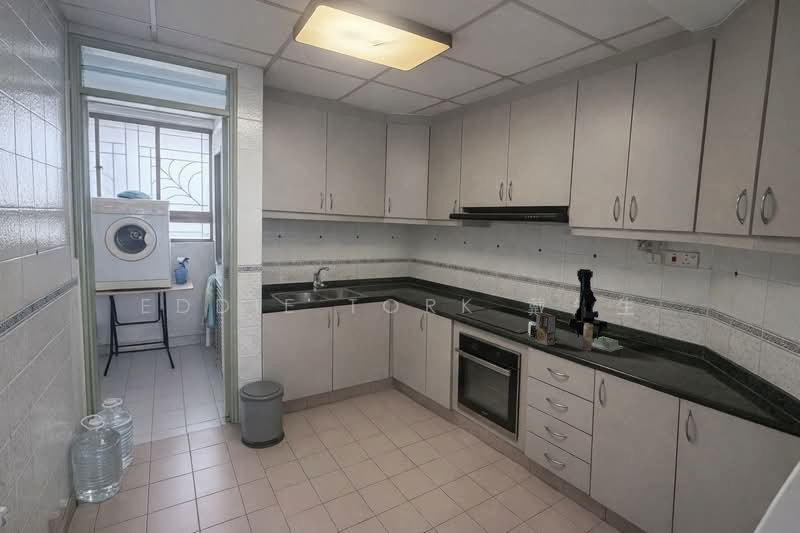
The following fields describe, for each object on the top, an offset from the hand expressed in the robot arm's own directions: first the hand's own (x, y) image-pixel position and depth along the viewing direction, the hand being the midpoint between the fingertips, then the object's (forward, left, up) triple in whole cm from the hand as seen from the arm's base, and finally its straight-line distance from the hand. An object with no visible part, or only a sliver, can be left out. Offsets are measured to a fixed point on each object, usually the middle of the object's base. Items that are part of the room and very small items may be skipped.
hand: (587, 338), depth 210 cm
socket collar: (+2, +15, -7) cm, 17 cm away
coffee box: (-19, -9, -7) cm, 23 cm away
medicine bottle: (-31, -2, -7) cm, 32 cm away
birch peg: (-1, +1, -7) cm, 7 cm away
